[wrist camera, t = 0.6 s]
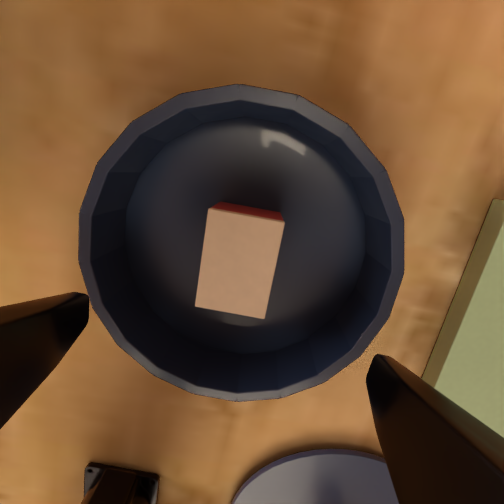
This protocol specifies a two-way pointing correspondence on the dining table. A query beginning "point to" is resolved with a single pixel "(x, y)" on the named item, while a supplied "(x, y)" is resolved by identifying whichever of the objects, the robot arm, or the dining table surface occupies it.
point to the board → (476, 331)
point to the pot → (252, 195)
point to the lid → (321, 480)
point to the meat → (239, 259)
